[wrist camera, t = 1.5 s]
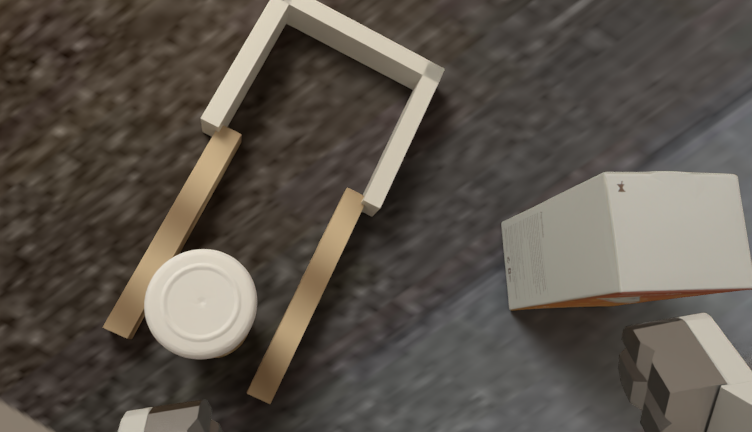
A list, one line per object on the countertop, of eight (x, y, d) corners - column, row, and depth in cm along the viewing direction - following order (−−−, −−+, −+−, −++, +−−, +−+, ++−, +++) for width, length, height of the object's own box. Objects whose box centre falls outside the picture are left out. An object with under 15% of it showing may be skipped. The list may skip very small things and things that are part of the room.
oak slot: (268, 402, 38) (270, 404, 36) (108, 328, 37) (102, 327, 35) (363, 203, 42) (367, 197, 40) (220, 132, 41) (219, 123, 39)
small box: (507, 312, 42) (618, 294, 30) (498, 221, 44) (602, 168, 31) (613, 308, 44) (760, 289, 32) (602, 220, 45) (739, 170, 33)
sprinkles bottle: (236, 367, 38) (234, 374, 25) (163, 344, 37) (123, 339, 24) (262, 296, 39) (273, 268, 26) (191, 272, 39) (167, 231, 26)
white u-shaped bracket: (372, 216, 42) (380, 208, 39) (202, 132, 41) (200, 118, 38) (433, 84, 45) (445, 69, 42) (278, 2, 44) (280, -19, 41)
